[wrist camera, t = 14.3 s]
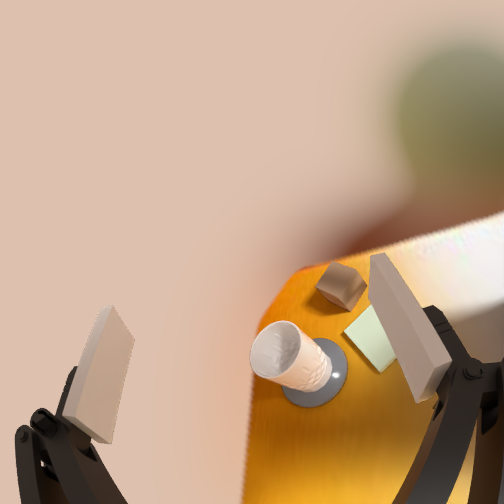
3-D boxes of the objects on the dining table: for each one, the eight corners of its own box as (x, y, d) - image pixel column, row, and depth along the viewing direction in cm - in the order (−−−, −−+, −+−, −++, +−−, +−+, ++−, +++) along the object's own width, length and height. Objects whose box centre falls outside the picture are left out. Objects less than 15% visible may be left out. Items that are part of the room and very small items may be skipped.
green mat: (388, 291, 42) (386, 288, 41) (427, 325, 34) (426, 322, 34) (346, 333, 43) (343, 331, 42) (380, 373, 35) (378, 371, 34)
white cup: (281, 372, 45) (241, 351, 39) (316, 337, 45) (281, 309, 39) (306, 407, 38) (265, 391, 33) (346, 368, 38) (313, 344, 33)
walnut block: (345, 277, 49) (332, 260, 47) (367, 285, 45) (355, 269, 42) (329, 301, 49) (314, 286, 46) (351, 312, 44) (337, 297, 42)
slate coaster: (323, 326, 46) (321, 324, 46) (362, 373, 37) (360, 372, 36) (273, 371, 47) (270, 369, 46) (302, 421, 38) (300, 421, 37)
